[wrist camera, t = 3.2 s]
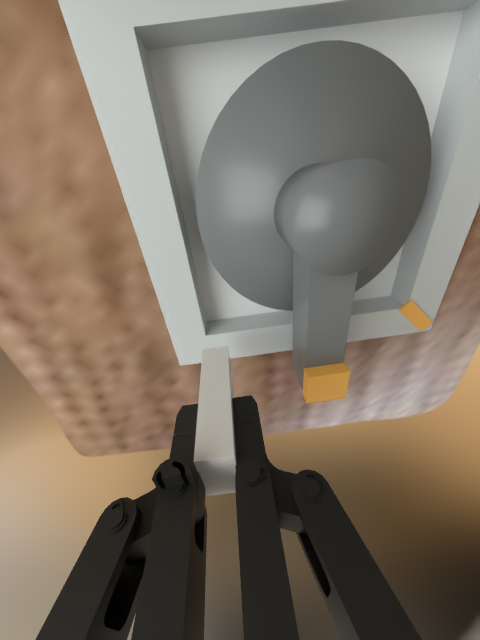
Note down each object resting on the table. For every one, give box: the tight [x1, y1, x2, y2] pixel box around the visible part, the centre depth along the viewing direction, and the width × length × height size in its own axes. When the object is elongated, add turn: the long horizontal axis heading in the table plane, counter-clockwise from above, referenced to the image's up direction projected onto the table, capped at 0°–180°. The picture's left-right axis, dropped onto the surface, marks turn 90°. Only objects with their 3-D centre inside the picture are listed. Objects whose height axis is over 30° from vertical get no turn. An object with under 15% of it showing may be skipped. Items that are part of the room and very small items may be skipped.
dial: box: [196, 40, 431, 404], centre depth 13 cm, size 18×13×6 cm
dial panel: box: [58, 0, 480, 366], centre depth 15 cm, size 20×20×4 cm
